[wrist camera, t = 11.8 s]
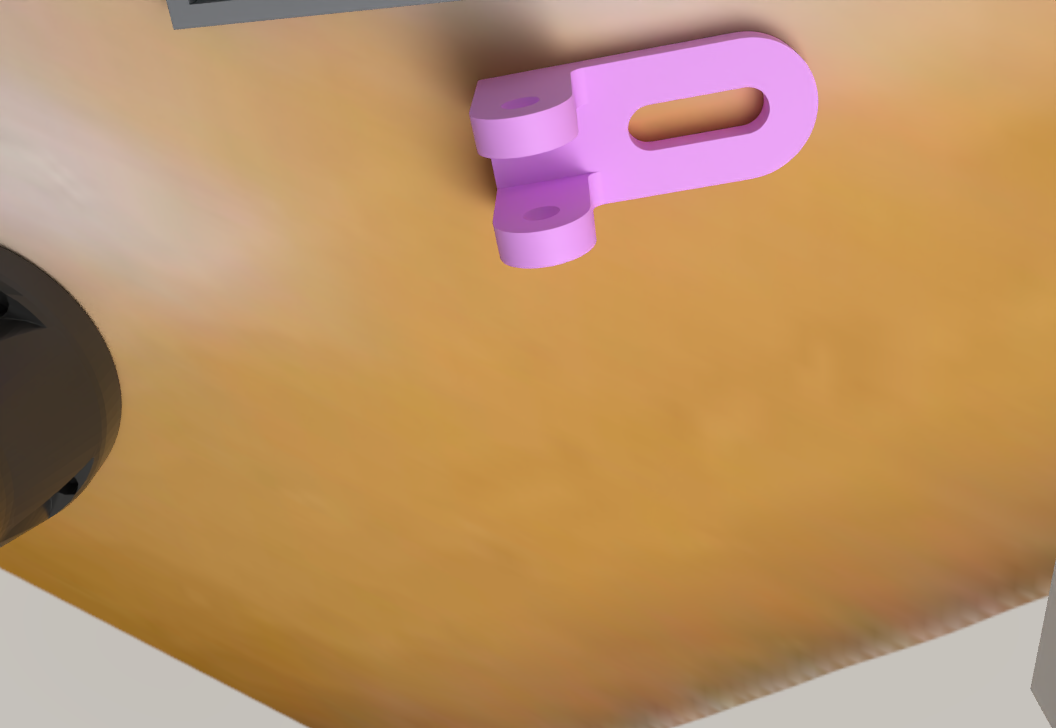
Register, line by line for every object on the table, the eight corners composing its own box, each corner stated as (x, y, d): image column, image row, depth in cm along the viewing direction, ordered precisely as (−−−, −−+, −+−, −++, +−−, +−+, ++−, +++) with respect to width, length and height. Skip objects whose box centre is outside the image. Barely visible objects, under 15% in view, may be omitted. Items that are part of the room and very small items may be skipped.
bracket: (505, 209, 43) (497, 274, 36) (478, 79, 40) (465, 126, 34) (813, 156, 41) (859, 215, 35) (806, 18, 39) (854, 55, 32)
